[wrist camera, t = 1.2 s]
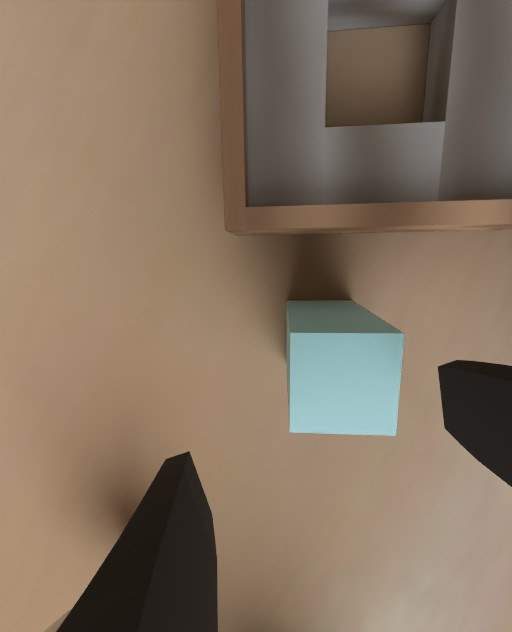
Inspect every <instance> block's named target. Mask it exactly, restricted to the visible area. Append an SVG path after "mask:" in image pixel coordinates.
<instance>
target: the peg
mask: <svg viewBox="0 0 512 632" xmlns="http://www.w3.org/2000/svg"><path fill="white" fill-rule="evenodd" d="M403 343H404V333H403V332H401V331H400V330H398V329H396V328H395V327H393V326H392V325H390V324H389V323H387V322H385V321H384V320H382V319H381V318H379V317H378V316H376V315H374V314H373V313H371V312H370V311H368V310H367V309H365V308H363V307H362V306H360V305H359V304H357V303H356V302H354V301H352V300H324V301H287V327H286V365H287V386H288V408H289V430H290V432H297V433H327V434H357V435H388V436H396V427H397V415H398V403H399V391H400V379H401V367H402V355H403Z"/></svg>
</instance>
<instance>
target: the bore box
mask: <svg viewBox="0 0 512 632" xmlns="http://www.w3.org/2000/svg"><path fill="white" fill-rule="evenodd" d="M217 18H218V46H219V75H220V104H221V132H222V161H223V190H224V218H225V230H226V231H228V232H231V233H233V234H235V235H278V234H324V233H369V232H414V231H460V230H502V229H510V228H512V0H217ZM426 23H431V27H430V39H429V51H428V63H427V75H426V87H425V98H424V110H423V122H422V123H403V124H384V125H364V126H344V127H325V106H326V68H327V31H336V30H349V29H361V28H374V27H387V26H400V25H413V24H426Z"/></svg>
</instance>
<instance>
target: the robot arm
mask: <svg viewBox="0 0 512 632" xmlns="http://www.w3.org/2000/svg"><path fill="white" fill-rule="evenodd" d="M438 372H439V381H440V390H441V399H442V408H443V417H444V426H445V429H446V430H447V431H448V432H449V433H450V434H451V435H452V436H453V437H454V438H455V439H456V440H457V441H458V442H459V443H460V444H461V445H462V446H463V447H464V448H465V449H466V450H467V451H468V452H469V453H470V454H472V455H473V456H474V457H475V458H476V459H477V460H478V461H479V462H481V463H482V464H483V465H484V466H486V467H487V468H488V469H489V470H491V471H492V472H493V473H495V474H496V475H497V476H498V477H500V478H501V479H502V480H503V481H505V482H506V483H507V484H509V485H510V486H511V487H512V366H508V365H501V364H493V363H485V362H476V361H464V360H456V361H453V362H450V363H447V364H444V365H441V366H438ZM56 632H218V621H217V555H216V545H215V536H214V527H213V518H212V513H211V510H210V507H209V504H208V502H207V499H206V496H205V493H204V490H203V488H202V485H201V482H200V479H199V477H198V474H197V471H196V468H195V466H194V463H193V460H192V457H191V455H190V452H186V453H183V454H180V455H177V456H174V457H171V458H168V459H166V460H165V462H164V463H163V465H162V466H161V468H160V470H159V472H158V473H157V475H156V477H155V478H154V480H153V482H152V484H151V485H150V487H149V489H148V490H147V492H146V494H145V496H144V497H143V499H142V501H141V503H140V504H139V506H138V508H137V509H136V511H135V513H134V514H133V516H132V518H131V519H130V521H129V523H128V524H127V526H126V528H125V529H124V531H123V533H122V534H121V536H120V537H119V539H118V541H117V542H116V544H115V545H114V547H113V548H112V550H111V551H110V553H109V554H108V556H107V557H106V559H105V561H104V562H103V564H102V565H101V567H100V568H99V570H98V571H97V573H96V574H95V576H94V577H93V579H92V580H91V582H90V583H89V585H88V587H87V588H86V590H85V591H84V593H83V594H82V595H81V597H80V598H79V600H78V601H77V603H76V604H75V606H74V607H73V608H72V610H71V611H70V613H69V614H68V615H67V617H66V618H65V620H64V621H63V622H62V624H61V625H60V627H59V628H58V629H57V631H56Z"/></svg>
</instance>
